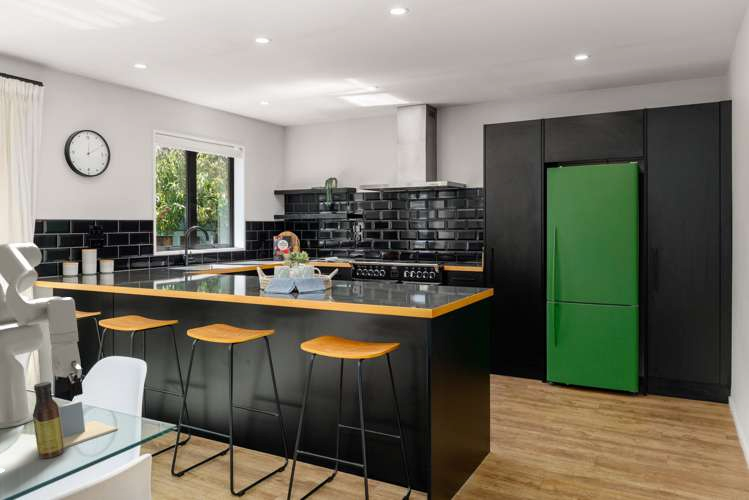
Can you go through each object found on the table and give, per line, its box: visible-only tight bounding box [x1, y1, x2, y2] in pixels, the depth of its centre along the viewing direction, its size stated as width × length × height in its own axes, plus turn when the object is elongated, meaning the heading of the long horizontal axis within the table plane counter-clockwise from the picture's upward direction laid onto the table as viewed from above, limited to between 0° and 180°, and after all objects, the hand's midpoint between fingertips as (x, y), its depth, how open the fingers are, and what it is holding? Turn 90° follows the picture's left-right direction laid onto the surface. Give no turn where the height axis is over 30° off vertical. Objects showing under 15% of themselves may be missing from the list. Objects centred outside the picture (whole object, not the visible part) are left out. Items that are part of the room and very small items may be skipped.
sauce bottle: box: [32, 381, 65, 459], centre depth 154 cm, size 6×6×20 cm
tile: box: [58, 400, 85, 438], centre depth 169 cm, size 2×9×6 cm
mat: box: [63, 420, 119, 449], centre depth 170 cm, size 16×16×1 cm
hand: (70, 393), depth 173 cm, fingers open, 9 cm apart
